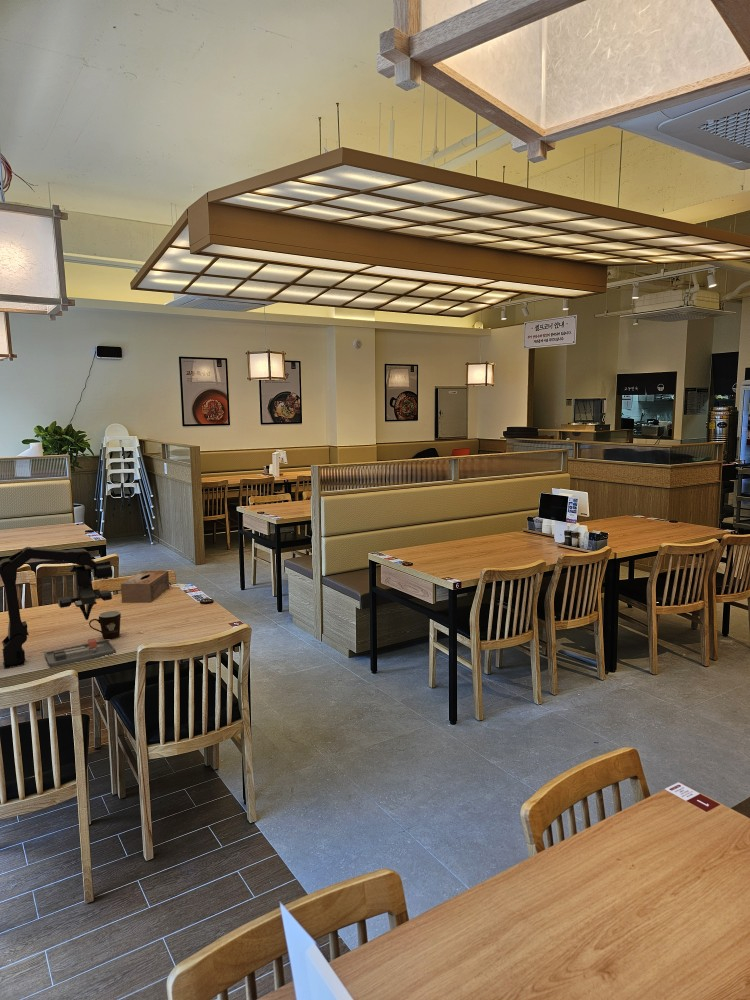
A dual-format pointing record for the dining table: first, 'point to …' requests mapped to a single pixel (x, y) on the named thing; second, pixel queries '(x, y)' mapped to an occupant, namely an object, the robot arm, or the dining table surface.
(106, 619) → the coffee mug
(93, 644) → the tab
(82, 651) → the tongs fixed body
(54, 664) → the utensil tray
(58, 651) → the bar
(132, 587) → the tissue box cover
